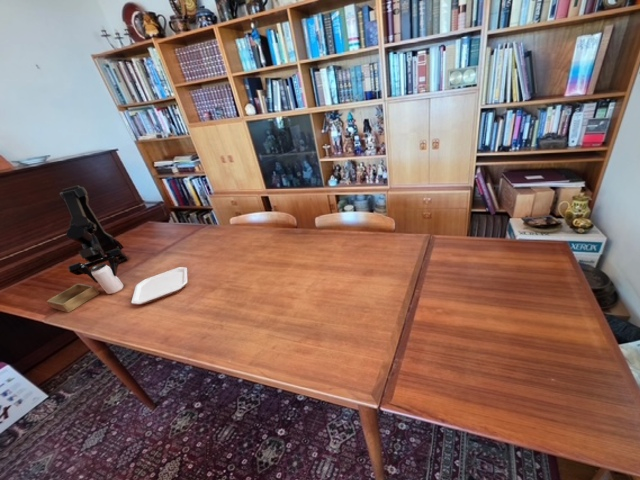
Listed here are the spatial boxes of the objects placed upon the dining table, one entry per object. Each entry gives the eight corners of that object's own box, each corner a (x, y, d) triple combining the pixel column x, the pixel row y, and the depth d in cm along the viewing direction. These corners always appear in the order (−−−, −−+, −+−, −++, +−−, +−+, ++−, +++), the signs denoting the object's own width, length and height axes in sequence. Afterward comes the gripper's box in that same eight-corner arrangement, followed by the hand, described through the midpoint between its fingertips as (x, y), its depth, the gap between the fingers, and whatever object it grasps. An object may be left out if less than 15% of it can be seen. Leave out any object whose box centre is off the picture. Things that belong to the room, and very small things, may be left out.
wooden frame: (84, 290, 134) (78, 283, 132) (99, 293, 129) (93, 286, 127) (53, 308, 125) (46, 301, 123) (68, 312, 120) (61, 304, 118)
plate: (132, 311, 113) (129, 307, 112) (139, 285, 129) (136, 281, 128) (189, 290, 119) (186, 285, 118) (188, 268, 135) (186, 264, 134)
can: (120, 291, 127) (103, 269, 121) (104, 296, 126) (85, 273, 120) (126, 283, 133) (109, 261, 126) (111, 287, 132) (93, 265, 125)
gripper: (53, 249, 116) (67, 283, 114) (107, 232, 123) (122, 264, 121) (70, 258, 126) (84, 290, 124) (120, 242, 133) (133, 272, 131)
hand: (106, 279), depth 125 cm, fingers closed on can, 6 cm apart
